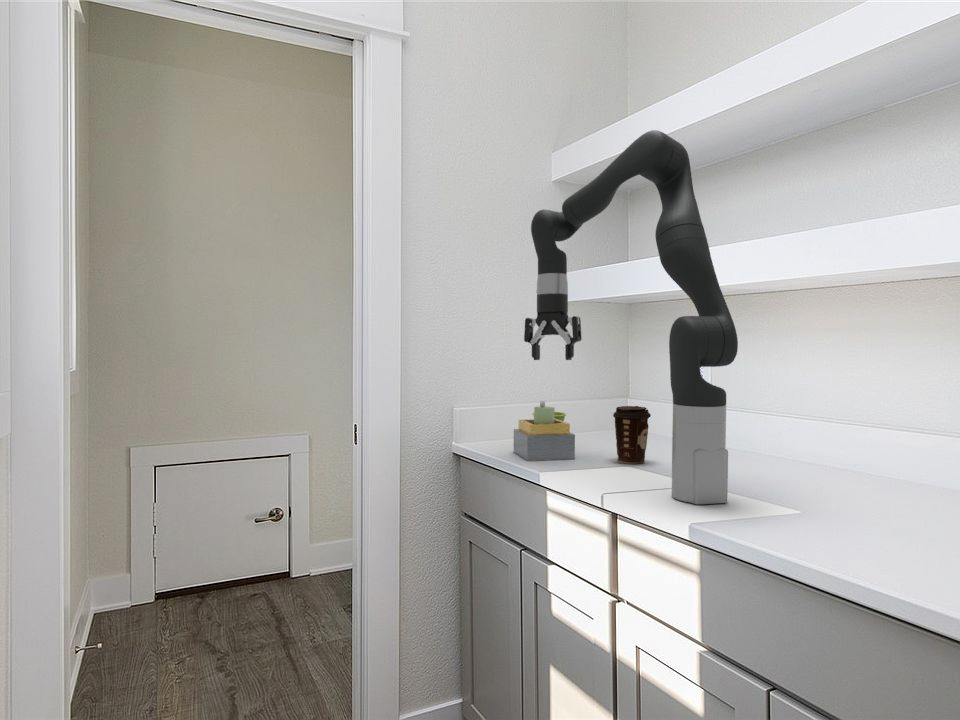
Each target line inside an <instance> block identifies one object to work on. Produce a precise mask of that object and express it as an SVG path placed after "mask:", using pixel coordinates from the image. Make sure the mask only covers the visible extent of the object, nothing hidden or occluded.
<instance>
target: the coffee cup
mask: <svg viewBox="0 0 960 720" xmlns="http://www.w3.org/2000/svg"><path fill="white" fill-rule="evenodd" d="M615 409H616V410H615V412H613V415H612V416H613V418H614V427H615V440H616V444H615V445H616V454H617V463H619V464H620V463H621V464H630V465H631V464H633V465H634V464H635V465H636V464H642V463H644V462H645V461H646V450H647V445H648V444H647V443H648V435H649V422H648V421H649V418H651V416H652V415H651V413H650V412H649V409H647V407H645V406H638V405H634V406H633V405H623V406H617V407H616V408H615Z"/></svg>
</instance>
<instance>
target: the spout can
mask: <svg viewBox="0 0 960 720" xmlns="http://www.w3.org/2000/svg"><path fill="white" fill-rule="evenodd" d="M533 409H534V411H533V412H534V415H533V419H534V424H554V412H556V410H555V407H553V406H546V401H545V400H540V401H539V406H534V408H533Z"/></svg>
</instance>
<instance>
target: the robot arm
mask: <svg viewBox="0 0 960 720" xmlns="http://www.w3.org/2000/svg"><path fill="white" fill-rule="evenodd" d="M639 175H640V176H641V177H642V178H645V179H646V180H648V181H649V182H652V183H653V184H654V185H655V186H656V189H657V191H658V194H659V198H660V202H661V206H662V207H661V213H660V216H659V219H658V221H657V224H656V228H655V235H654V236H655V242H656V247H657V251H658V256H659V260H660V264H661V266H662V267H663V269H664V271H665V272H666V274H667V275H668V276H669V277H670V278H671V280H672V281H674V282H675V284H677V286H679V288H680V289H681V290H682V291H683V292H684V293H685V294H686V295H687V296H688V297H689V299H690V300H691V302H692V303H693V305H694V307H695V309H696V311H697V314H698V315H684V316H679V317H677V318H676V319H675V320H674V321H673V323H672V325H671V328H670V332H669V338H668V339H669V341H668V348H669V350H668V351H669V370H670V371H669V372H670V373H669V374H670V375H669V376H670V377H669V378H670V387H671V394H672V429H671V430H672V433H671V435H672V436H671V437H672V439H671V441H672V444H671V445H672V446H671V447H672V449H671V451H672V452H671V497H672V498H673V499H675V500H678V501H681V502H685V503H691V504H694V505H710V504H711V505H712V504H727V503H728V499H729V498H728V496H729V495H728V492H729V491H728V486H729V485H728V484H729V483H728V479H729V473H728V472H729V451H728V449H727V448H726V447H727V446H726V445H727V443H726V441H727V439H726V437H727V434H726V433H727V392H726V390H725V389H724V388H723V387H720V386H717V385H714V384H711V383H710V382H708V381H707V380H705V379H704V377H703V376H702V374H701V368H704V367H705V368H706V367H707V368H708V367H709V368H715V367H719V368H720V367H726V366H729V365H730V364H732V363H733V362H734V361H735V359H736V357H737V355H738V351H739V350H738V348H739V341H738V334H737V330H736V326H735V322H734V320H733V318H732V315H731V312H730V310H729V308H728V305H727V302H726V300H725V297H724V294H723V292H722V290H721V285H720V284H719V281H718V277H717V273H716V271H715V267H714V263H713V260H712V256H711V251H710V246H709V242H708V238H707V235H706V232H705V227H704V224H703V221H702V218H701V214H700V209H699V205H698V203H697V199H696V196H695V191H694V185H693V178H692V177H693V176H692V169H691V162H690V158H689V154H688V151H687V149H686V148H685V146H684V145H683V144H681V143H680V142H679V141H677V140H676V139H675V138H672V137H671V136H669V135H668V134H666V133H664V132H663V131H661V130H653V129H652V130H649V131H646V132H645V133H643V134H641V135H640V136H639V137H638V138H636V139H635V140H634V141H633V142H631V144H629V145H628V146H627V147H626V149H624V150H623V151H622V152H621V153H620V154H619V155H618V156H617V157H616V158H615V159H614V160H613V161H612V162H611V163H610V164H609V165H607V166H606V168H605V169H604V170H603V171H602V172H601V173H599V174H598V176H596V177H595V178H594V179H593V180H591V181H590V182H588V184H586V185H584V186H583V187H581V188H580V189H579V190H577V191H576V192H574V193H572V194H571V195H570V196H569V197H567V198H566V199H565V200H564V201H563V203H562V206H561V211H556V210H551V209H541V210H538V211H537V212H536V213H535V214H534V215H533V217H532V219H531V224H530V232H531V237H532V242H533V244H534V245H533V246H534V250H535V253H536V257H537V280H536V291H535V292H536V314H537V315H536V318H531V317H526V318H525V320H524V333H523V334H524V335H523V337H524V338H523V341H524V342H525V343H528V344H530V346H531V357H532V358H533V360H534V361H540V359H541V345H540V343H541V341H542V339H543V338H545V337H546V336H560V337H561V338H562V340H563V341H564V342H565V344H564V345H565V347H564V348H565V351H564V352H565V354H564V355H565V360H566V361H571V360H572V359H573V358H574V355H575V349H574V347H575V344H576V343H578V342H581V341H582V340H583V339H582V323H581V321H582V320H581V317H580V316H578V315H577V316H575V315H573V316H570V317H569V314H568V313H569V312H568V311H569V310H568V309H569V308H568V307H569V290H568V289H569V285H568V282H569V281H568V275H567V274H568V272H567V271H568V269H567V268H568V267H567V266H568V265H567V261H568V258H567V254H566V252H565V251H563V250H562V249H560V248H558V245H557V243H556V242H559V243H560V242H563V241H566V240H568V239H570V238H572V237H573V235H575V233H576V232H577V231H578V230H579V229H581V227H582V226H583V224H585V223H586V222H588V221H591V220H592V219H593V218H595V217H597V216H598V215H599V214H601V213H602V212H603V211H604V210H606V208H608V207H609V205H610V203H611V202H612V201H613V199H614V197H615V195H616V193H617V192H618V191H617V190H618V189H619V188H620V187H621V185H623V183H625V182H627V181H629V180H630V179H632V178H634V177H636V176H639ZM569 324H570V326H571V328H572V335H571V332H570V331H569V330H568V328H567V326H568V325H569ZM536 325H537V327H538V328H537V330H536V331H535V333H534V328H535V327H536Z"/></svg>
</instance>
